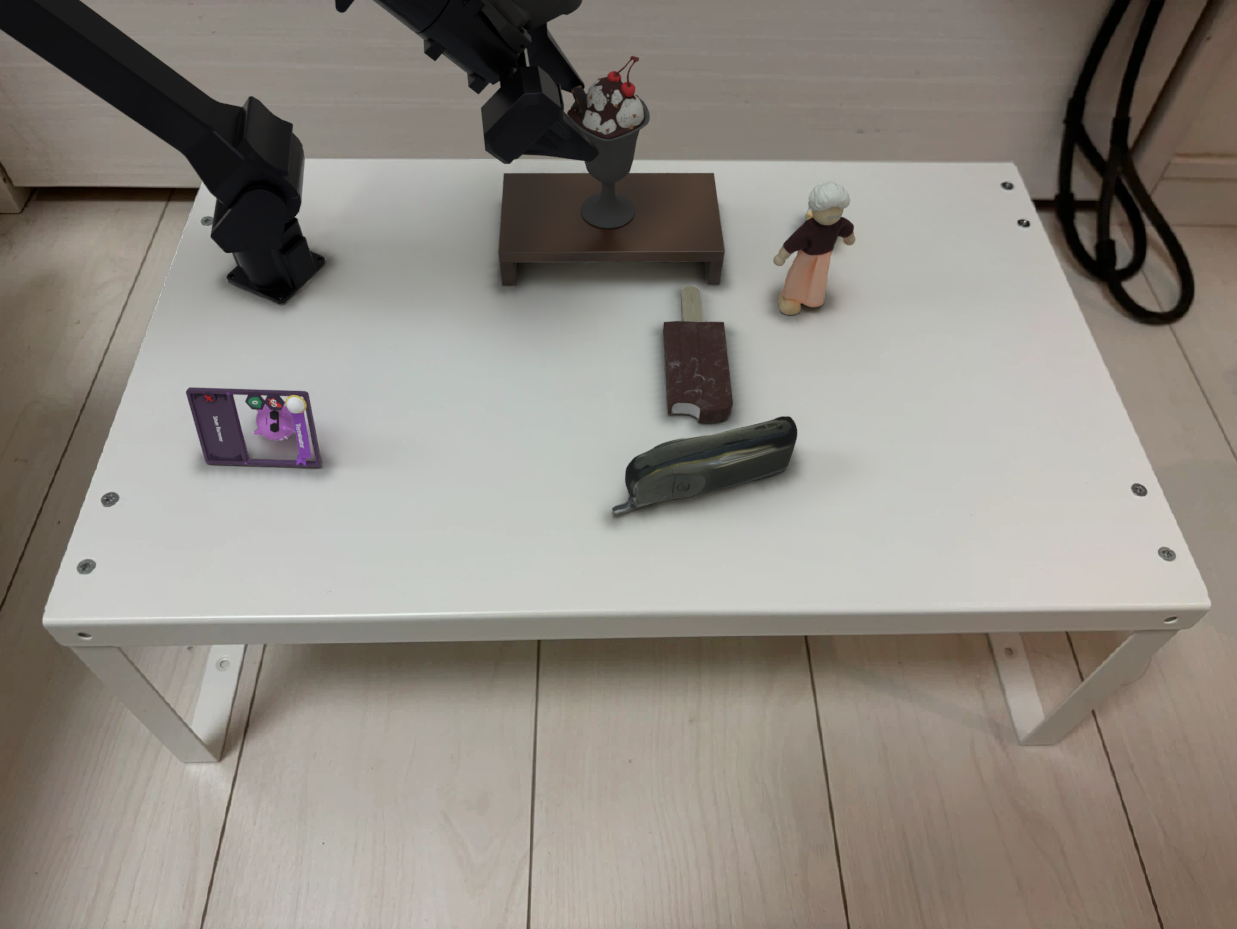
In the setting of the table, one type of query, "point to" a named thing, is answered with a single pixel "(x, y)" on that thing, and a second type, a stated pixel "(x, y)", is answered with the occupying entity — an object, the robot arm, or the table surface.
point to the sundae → (609, 142)
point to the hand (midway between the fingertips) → (588, 122)
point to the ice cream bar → (696, 364)
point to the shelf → (658, 232)
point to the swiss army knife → (709, 462)
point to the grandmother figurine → (814, 248)
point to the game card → (273, 422)
